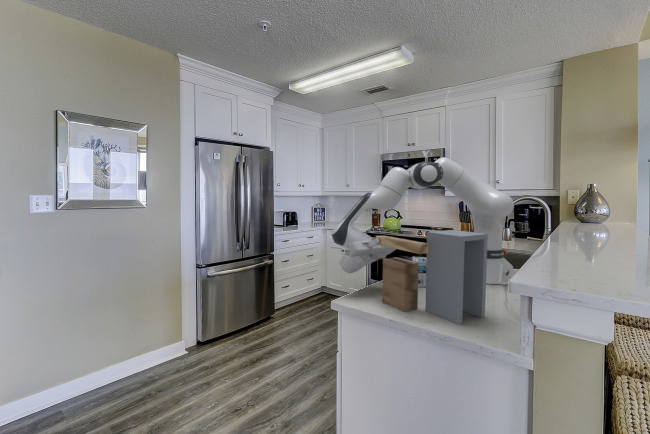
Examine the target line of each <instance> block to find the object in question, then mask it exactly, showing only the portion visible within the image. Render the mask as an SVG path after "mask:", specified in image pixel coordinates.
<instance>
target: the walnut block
mask: <svg viewBox="0 0 650 434" xmlns="http://www.w3.org/2000/svg"><path fill="white" fill-rule="evenodd" d="M418 298H419V287H418V263H417V262H413V261H412V260H407V259H404V258H401V257H396V256H394V257H388V258H387V257H385V258H384V259H382V299H381V300H382V303H384V304H385V305H389V306H390V307H393V308H395V309H397V310H399V311H401V312H404V313H405V312H408V311H413V310H417V309H418V308H419V307H418V305H419V304H418V303H419V302H418V301H419V299H418Z"/></svg>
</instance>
